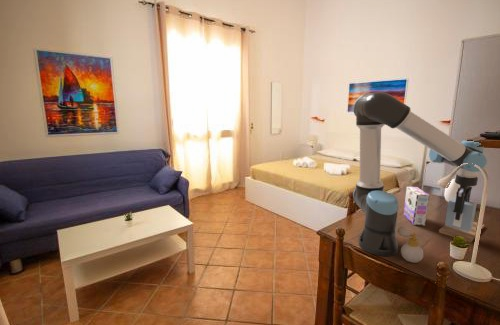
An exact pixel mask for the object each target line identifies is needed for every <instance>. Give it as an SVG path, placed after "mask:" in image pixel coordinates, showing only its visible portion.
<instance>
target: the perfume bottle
mask: <svg viewBox="0 0 500 325" xmlns="http://www.w3.org/2000/svg"><path fill="white" fill-rule="evenodd" d="M397 234H399V235H400V236H401V237H404V238H408V242H406V243H404V244H402V246H401V248H400V254H401V256H402V258H403V259H404V260H405V261H407V262H409V263H414V264H416V263H419V262H421V261H422V260H423V259H424V251H423V249H422V247H421V246H420V245H419V244H418V243H419V240H418V239H417V236H416V233H415V232H414V233H413V234H412V232H411V231H410V230H409V229H408V228H407V227H404V226H400V227H398V228H397Z"/></svg>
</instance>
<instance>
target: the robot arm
mask: <svg viewBox="0 0 500 325" xmlns="http://www.w3.org/2000/svg"><path fill="white" fill-rule="evenodd" d="M411 109H412V108H411V107H410V106H409V105H407V104H405V103H404V102H402V101H401V100H399V99H397V98H396V97H395V96H393V95H392V94H389V93H388V92H383V91H377V92H369V93H365V94H362V95H360V96H359V97H358V98H357V99H356V100H355V101H354V104H353V113H354V116H355V117H356V119H355V125H356V127H357V128H358V129H359V179H358V181H356V184H355V188H354V190H353V193H352V195H353V200H354V202H355V204H356V205H357V207H359V209H360V210H361V211H362V212H363V214H365V217H364V226H363V229H362V231H361V233H360V235H359V236H358V246H359V248H360V249H362V250H363V251H364V252H367V253H369V254H372V255H374V256H379V257H391V256H395V255H397V253H398V250H399V244H398V240H397V236H396V227H397V226H396V225H397V220H398V213H399V212H398V211H399V200H398V198H397V196H395V194H393V193H391V192H388V191H385V190H384V185H385V184H384V183H383V181H381V162H382V161H381V160H382V159H381V158H382V157H381V156H382V155H381V154H382V153H381V152H382V151H381V150H382V128H383V127H384V126H385V125H386V126H387V127H389V128H391V129H397V130H399V131H401V132H402V133H403V134H406V135H407V136H409V137H410V138H412V139H414V140H415V141H416V142H419V143H420V144H422V145H423V146H425V147H427V148H428V149H429V152H428V157H429V160H430V161H431V162H432V163H438V164H441V163H443V164H447V165H449V166H453V167H455V168H457V167H458V166H460V165H461V164H463V163H468V164H466V165H465V166H462V167H461V168H460V169H459V170H458V171H457V170H456V171H457V172H456V178H455V177H454V179H455V183H457V184H459V185H460V188H458V191H457V192H456V193H457V194H456V202H455V207H454V211H453V212H455V215H454V221H453V225H454V226H457V227H461V222H462V216H463V208H464V203H465V201H466V202H470V198H471V194H472V193H471V192H472V189H473V187H475V186H477V185H478V180H479V179H478V178H479V177H478V176H479V173H481V172H482V170H481V171H480V170H479V169H478V168H476V167H474V165H475V164H476V165H478V166H480V167H481V168H483V169H484V168H485V167H486V166H487V163H488V160H487V157H486V155H485V154H484V146H483V147H477V146H479V145H481V143H479V142H474V141H475V140H473V141H467V140H468V139H467V140H466V139H465V140H462V141H461V142H459V141H458V140H456V139H455V138H453V137H451V136H450V135H449V134H447V133H445V132H444V131H442V130H440V129H439V128H438V127H436V126H435V125H433V124H432V123H429V122H428V121H426V120H425V119H424V118H422V117H420V115H419V116H418V115H417V114H416V113H414V112H412V111H411ZM472 163H473V164H472Z"/></svg>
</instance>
